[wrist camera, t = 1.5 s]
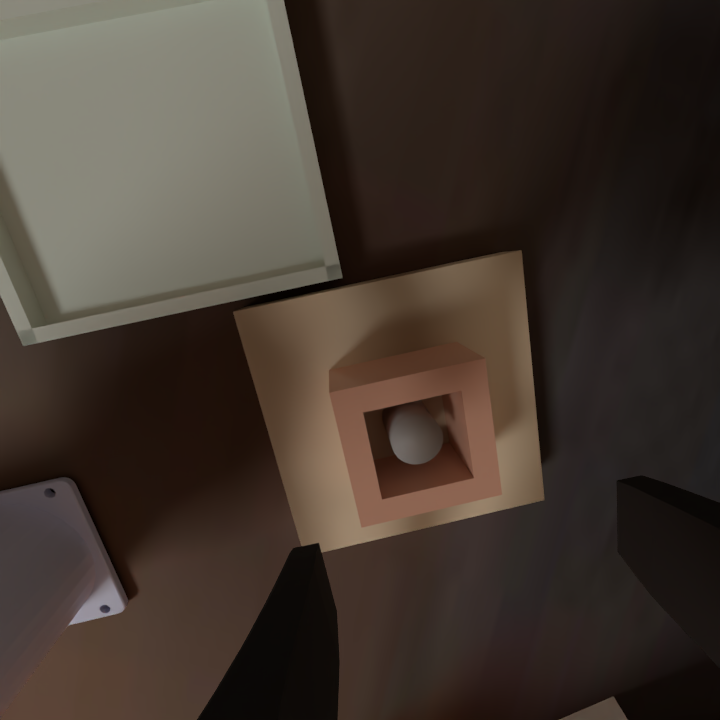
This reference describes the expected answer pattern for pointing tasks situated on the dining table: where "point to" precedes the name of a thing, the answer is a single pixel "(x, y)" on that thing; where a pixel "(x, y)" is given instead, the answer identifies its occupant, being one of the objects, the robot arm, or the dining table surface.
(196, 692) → the dining table surface
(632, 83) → the dining table surface
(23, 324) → the tray
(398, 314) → the board
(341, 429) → the ring
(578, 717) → the milk
